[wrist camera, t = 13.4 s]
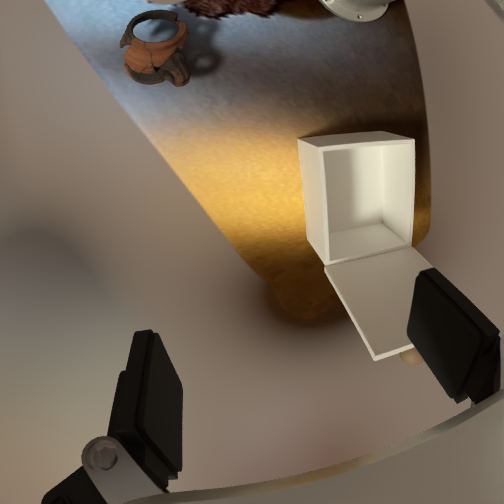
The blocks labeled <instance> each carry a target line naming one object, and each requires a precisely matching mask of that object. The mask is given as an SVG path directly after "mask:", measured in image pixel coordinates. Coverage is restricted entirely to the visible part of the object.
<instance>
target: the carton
mask: <svg viewBox="0 0 504 504" xmlns="http://www.w3.org/2000/svg"><path fill="white" fill-rule="evenodd" d="M297 141H298V150H299V159H300V168H301V177H302V187H303V197H304V208H305V219H306V231H307V239H308V241H309V242H310V244H311V245H312V247H313V248H314V250H315V251H316V252H317V254H318V255H319V257H320V258H321V260H322V261H323V263H324V264H325V266H328V265H332V264H337V263H342V262H346V261H351V260H355V259H360V258H364V257H369V256H373V255H378V254H382V253H386V252H391V251H395V250H400V249H404V248H408V247H411V242H412V230H413V215H414V193H415V139H412V138H408V137H404V136H400V135H396V134H392V133H388V132H384V131H373V132H358V133H346V134H335V135H325V136H315V137H307V138H298V139H297Z"/></svg>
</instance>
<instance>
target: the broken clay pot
mask: <svg viewBox="0 0 504 504" xmlns="http://www.w3.org/2000/svg"><path fill="white" fill-rule="evenodd" d="M177 17H178V15H177V13H174V12H172V11H168V10H151V11H146V12H144V13H141V14H139V15H137V16H135V17H134V18H133V19H132V20H131V21H130V22H129V24H128V25H127V28H126V31H125V33H124V35H123V37H122V39H121V41H120V48H123V47H124V45H131V46H130V47H129V48H128V50H127V51H126V52H125V54H124V61H125V62H126V63H125V64H124V68H125V70H126V72H127V73H128V75H129V76H130V77H131V78H132V79H133V80H135V81H136V82H139V83H142V84H150V85H151V84H157V83H161V82H162V80H163V79H164V80H168V81H170V82H171V83H172V84H173V85H174V86H176V87H179V86H184V85H186V84H187V83H189V79H190V71H189V69H188V67H187V65H186V64H185V62H184V61H183V59H184V56H183V55H182V54H181V53H180V52H175V50H176V48H178V49H182V48H183V46H184V44H185V42H186V39H187V35H188V29H187V27H186V23H185V21H182V22H180V21H179V20H177ZM149 19H166V20H169V21H172V22H174V23H175V24H177V25H178V27H179V32H178V33H177V35H175V36H174V37H173V38H172V39H169V40H167V41H163V42H156V43H151V42H145V41H142V40H140V39H138V38H136V37H135V36H134V34H133V28H134V27H135V26H136V25H137V24H138V23H141V22H143V21H146V20H149ZM174 52H175V53H174ZM127 64H128V65H127ZM155 67H161V69H159V70H158V71H157V70H156V69H155Z"/></svg>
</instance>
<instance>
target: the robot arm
mask: <svg viewBox="0 0 504 504" xmlns="http://www.w3.org/2000/svg"><path fill="white" fill-rule="evenodd" d="M319 1H320V2H321V3H322V4H323V5H324V7H325V8H327V9H328V10H329V11H330V12H332V13H333V14H335V15H336V16H338V17H340V18H343V19H345V20H348V21H351V22H358V23H363V22H369V21H373V20H375V19H378V18H379V17H380V16H382V15H383V14H384V12H385V11H386V9H387V7H388V4H389V3H390V2H392V1H395V0H326V1H325V0H319ZM484 1H485V2H486V3H487V5H488V6H489V7H490V8H491V10H492V11H493V12H494V13H495V15H496V16H497V17H498V18H499V19H500V20H501V22H502V23H504V0H484ZM358 18H359V19H358ZM499 332H500V331H499V329H498V328H496V326H495V325H494V324H493V323H492V322H491V321H490V320H489V319H488V318H487V317H486V316H485V315H484V314H483V313H482V312H481V311H480V310H479V309H478V308H477V307H476V306H475V305H474V304H473V303H472V302H471V301H470V300H469V299H468V298H467V297H466V296H465V295H464V294H463V293H462V292H461V291H459V290H458V289H457V288H456V287H455V286H454V285H453V284H452V283H451V282H450V281H449V280H447V278H445V277H444V276H443V275H442V274H441V273H440V272H439V271H438V270H437V269H435V268H429V269H425V270H422V271H420V272H419V274H418V276H417V277H416V279H415V285H414V292H413V298H412V304H411V309H410V315H409V320H408V325H407V336H408V338H409V340H410V341H411V342H412V344H413V345H414V347H415V348H416V349H417V351H418V352H419V354H420V355H421V356H422V358H423V359H424V361H425V362H426V363H427V365H428V366H429V368H430V369H431V371H432V372H433V374H434V375H435V377H436V378H437V380H438V381H439V383H440V384H441V385H442V387H443V389H444V390H445V392H446V393H447V395H448V396H449V397H450V398H453V399H454V400H455V402H456V403H457V404H458V403H460V402H462V401H463V400H465V399H467V398H468V397H469V398H470V399H471V407H470V408H469V409H467V410H465V411H464V412H462V413H460V414H458V415H457V416H454V417H453V418H451V419H449V420H447V421H445V422H443V423H441V424H439V425H437V426H434V427H432V428H431V429H428V430H426V431H424V432H422V433H419V434H417V435H415V436H413V437H410V438H408V439H406V440H403V441H401V442H399V443H396V444H394V445H391V446H389V447H386V448H383V449H381V450H378V451H375V452H372V453H370V454H367V455H364V456H361V457H358V458H355V459H352V460H349V461H346V462H342V463H339V464H336V465H332V466H329V467H326V468H321V469H318V470H314V471H310V472H306V473H302V474H298V475H293V476H289V477H285V478H279V479H274V480H269V481H263V482H257V483H251V484H245V485H239V486H231V487H223V488H214V489H205V490H193V491H184V492H174V493H170V492H169V490H168V489H167V486H168V480H174V479H178V472H179V471H180V472H181V471H182V409H183V388H182V384H181V381H180V379H179V377H178V375H177V373H176V371H175V369H174V367H173V364H172V363H171V360H170V358H169V356H168V354H167V351H166V349H165V347H164V345H163V343H162V340H161V338H160V336H159V334H158V333H153V331H152V330H150V329H149V330H143V331H136V332H135V333H134V336H133V340H132V344H131V349H130V353H129V357H128V362H127V366H126V370H125V371H122V372H121V373H120V375H119V378H118V383H117V387H116V392H115V397H114V402H113V406H112V411H111V417H110V422H109V427H108V433H107V436H101V437H97V438H95V439H93V440H91V441H90V442H89V443H88V444H86V446H85V448H84V449H83V452H82V455H81V459H82V464H83V466H81V467H80V468H79V469H77V470H76V471H75V472H74V473H72V474H71V475H70V476H68V477H67V478H66V479H64V480H63V481H62V482H61V483H59V484H58V485H56V486H55V487H54V488H52V489H51V490H50V491H49V492H47V493H46V494H45V495H44V497H43V499H42V502H41V504H504V335H503V336H502V337H501V338H500V337H499V335H498V334H499Z"/></svg>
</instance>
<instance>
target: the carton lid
mask: <svg viewBox="0 0 504 504" xmlns="http://www.w3.org/2000/svg"><path fill="white" fill-rule="evenodd" d="M429 268H433V267H432V266H431V265H430V264H429V263H428V262H427V261H426V260H425V259H424V258H423V257H422V256H421V255H420V254H419V253H418V252H417V251H416V250H415V249H414V248H413V247H410V248H405V249H401V250H397V251H392V252H388V253H384V254H379V255H375V256H371V257H366V258H362V259H357V260H353V261H348V262H343V263H339V264H334V265H330V266H325V267H324V270H325V273H326V275H327V277H328V278H329V280H330V282H331V283H332V285H333V287H334V289H335V290H336V292H337V294H338V296H339V297H340V299H341V301H342V303H343V304H344V306H345V308H346V310H347V312H348V313H349V315H350V317H351V318H352V321H353V322H354V324H355V326H356V328H357V330H358V331H359V333H360V335H361V337H362V339H363V341H364V343H365V344H366V346H367V348H368V350H369V352H370V354H371V356H372V357H373V359H374V360H375V361H376V360H379V359H382V358H385V357H388V356H391V355H394V354H397V353H400V357H401V360H402V361H403V362H404V363H405V364H407V365H409V366H415V365H419V364H420V363H422V362H423V361H424V359H423V358H422V356H421V355H420V354H419V352H418V351H417V349H416V348H415V347H414V345H413V344H412V342H411V341H410V340H409V338H408V336H407V325H408V320H409V315H410V309H411V304H412V298H413V292H414V285H415V279H416V277H417V276H418V274H419V272H420V271H422V270H425V269H429Z"/></svg>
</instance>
